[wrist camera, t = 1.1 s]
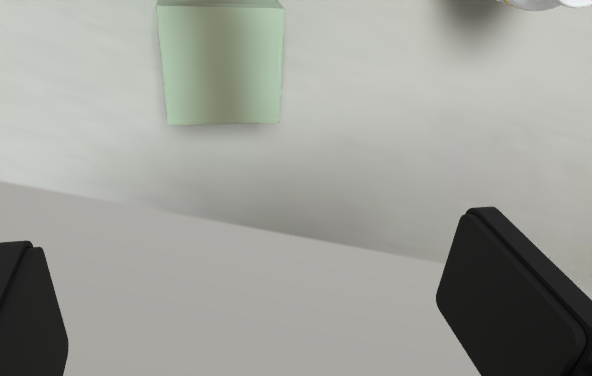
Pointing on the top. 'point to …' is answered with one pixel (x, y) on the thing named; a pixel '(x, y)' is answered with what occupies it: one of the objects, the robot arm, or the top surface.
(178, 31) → the sage cube
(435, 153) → the top surface
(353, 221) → the top surface
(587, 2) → the supplement bottle
